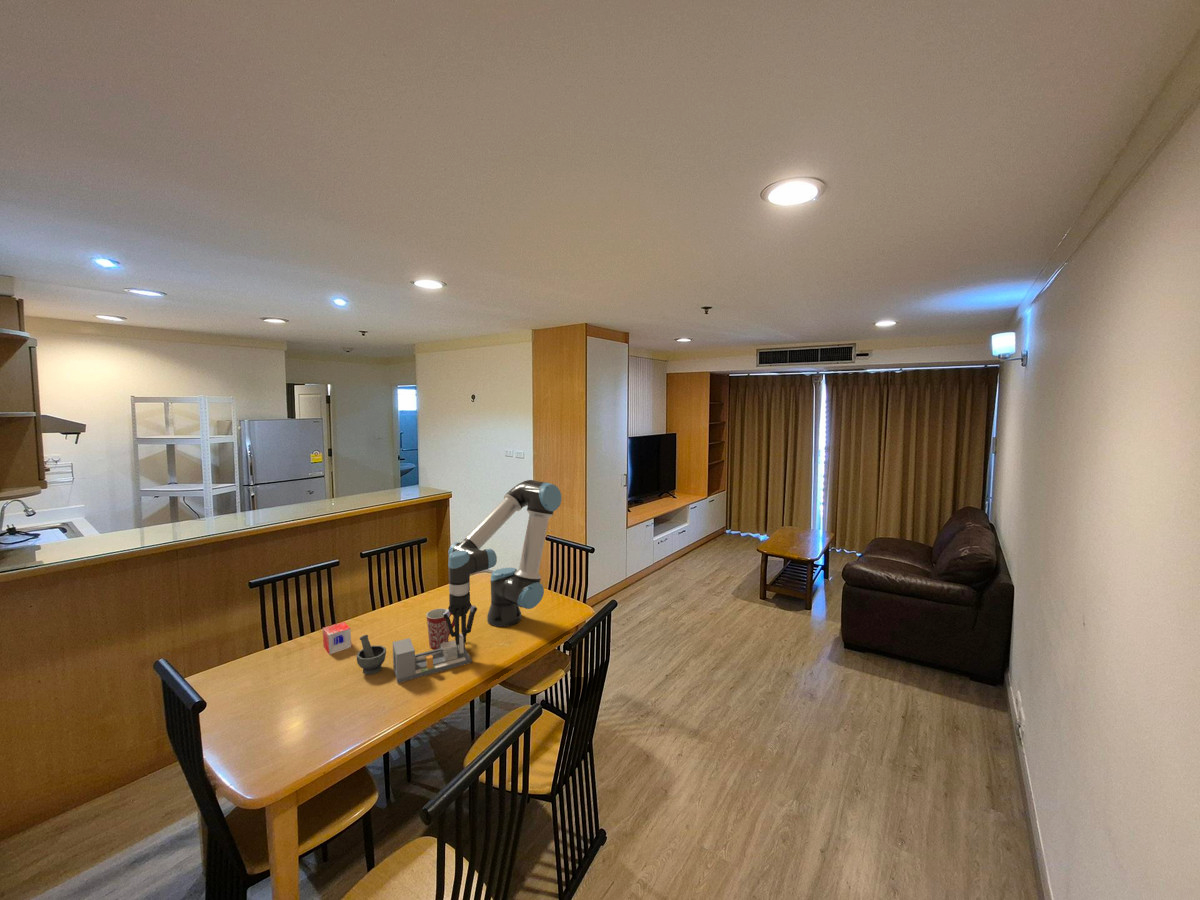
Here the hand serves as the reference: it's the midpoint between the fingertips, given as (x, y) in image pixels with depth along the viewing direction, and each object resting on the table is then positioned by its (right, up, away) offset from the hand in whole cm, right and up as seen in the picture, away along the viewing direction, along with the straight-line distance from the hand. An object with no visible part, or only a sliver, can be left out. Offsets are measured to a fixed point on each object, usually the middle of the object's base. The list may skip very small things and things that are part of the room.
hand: (460, 651), depth 180 cm
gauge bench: (-9, -3, -5) cm, 11 cm away
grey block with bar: (-9, -2, -7) cm, 12 cm away
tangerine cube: (-9, -2, -9) cm, 13 cm away
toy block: (-52, -2, +8) cm, 52 cm away
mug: (-11, -2, +11) cm, 16 cm away
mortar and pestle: (-31, -3, -8) cm, 32 cm away
